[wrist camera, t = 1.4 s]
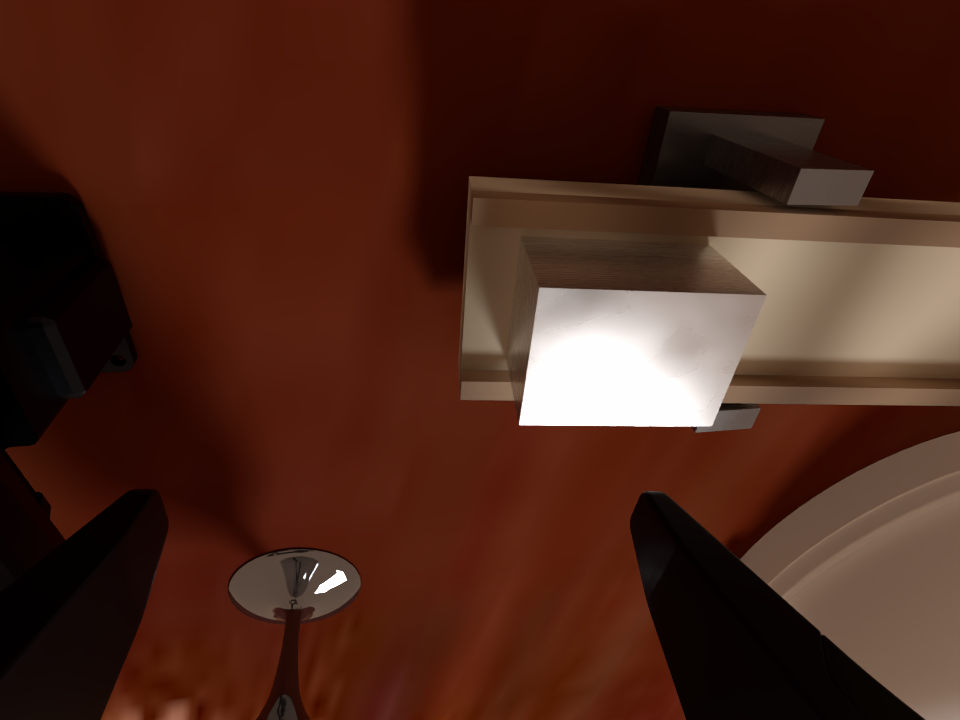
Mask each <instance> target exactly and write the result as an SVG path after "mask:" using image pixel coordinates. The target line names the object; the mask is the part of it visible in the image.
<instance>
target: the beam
mask: <svg viewBox="0 0 960 720" xmlns="http://www.w3.org/2000/svg"><path fill="white" fill-rule="evenodd" d="M521 236H530V237H553V238H576V239H600V240H623V241H646V242H669V243H692V244H709V245H710V246H712V247H713V248H714V249H715V250H716V251H717V252H718V253H720V254H721V255H722V256H723V257H724V258H725V259H726V260H728V261H729V262H730V263H731V264H732V265H733V266H734V267H735V268H737V269H738V270H739V271H740V272H741V273H742V274H743V275H745V276H746V277H747V278H748V279H749V280H750V281H751V282H753V283H754V284H755V285H756V286H757V287H758V288H759V289H761V290H762V291H763V292H764V293H765V294H766V295H767V297H766V299H765V301H764V304H763V306H762V309H761V311H760V313H759V316H758V318H757V320H756V323H755V325H754V327H753V330H752V332H751V335H750V337H749V339H748V342H747V344H746V346H745V349H744V351H743V354H742V356H741V358H740V361H739V363H738V365H737V368H736V370H735V373H734V375H733V377H732V380H731V382H730V384H729V387H728V389H727V392H726V394H725V396H724V399H723V401H722V403H758V404H838V405H918V406H960V202H941V201H923V200H904V199H886V198H867V197H862V198H861V200H860V202H859V204H858V206H845V205H786V204H784V203H782V202H780V201H778V200H776V199H774V198H772V197H770V196H768V195H766V194H764V193H762V192H760V191H758V190H756V189H754V188H752V187H751V188H750V190H749V191H737V190H718V189H700V188H681V187H663V186H644V185H625V184H607V183H588V182H570V181H551V180H533V179H514V178H495V177H477V176H469V186H468V204H467V221H466V239H465V256H464V274H463V291H462V309H461V326H460V344H459V361H458V367H459V384H460V400H514V397H513V392H512V387H511V382H510V377H509V372H508V366H507V361H506V355H507V346H508V338H509V329H510V321H511V313H512V304H513V296H514V287H515V279H516V270H517V262H518V253H519V245H520V237H521Z"/></svg>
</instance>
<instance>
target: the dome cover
mask: <svg viewBox="0 0 960 720" xmlns="http://www.w3.org/2000/svg"><path fill="white" fill-rule="evenodd" d="M740 560H741V561H742V562H743V563H744V564H745V565H746V566H748V567H749V568H750V569H751V570H752V571H753V572H754V573H755V574H756V575H758V576H759V577H760V578H761V579H762V580H763V581H764V582H765V583H767V584H768V585H769V586H770V587H771V588H772V589H773V590H774V591H776V592H777V593H778V594H779V595H780V596H781V597H782V598H783V599H785V600H786V601H787V602H788V603H789V604H790V605H791V606H792V607H794V608H795V609H796V610H797V611H798V612H799V613H800V614H801V615H803V616H804V617H805V618H806V619H807V620H808V621H809V622H810V623H811V624H813V625H814V626H815V627H816V628H817V629H818V630H819V631H820V632H821V635H825V636H826V637H827V638H829V639H830V640H831V641H832V642H833V643H834V644H835V645H836V646H837V647H839V648H840V649H841V650H842V651H843V652H844V653H845V654H847V655H848V656H849V657H850V658H851V659H852V660H854V661H855V662H856V663H857V664H858V665H859V666H860V667H862V668H863V669H864V670H865V671H866V672H867V673H869V674H870V675H871V676H872V677H873V678H874V679H876V680H877V681H878V682H879V683H881V684H882V685H883V686H884V687H886V688H887V689H888V690H889V691H890V692H892V693H893V694H894V695H895V696H897V697H898V698H899V699H900V700H902V701H903V702H904V703H905V704H906V705H908V706H909V707H910V708H911V709H913V710H914V711H915V712H917V713H918V714H919V715H920V716H922V717H923V718H924V719H925V720H960V431H959V432H956V433H952V434H948V435H944V436H941V437H938V438H935V439H932V440H929V441H926V442H923V443H920V444H918V445H915V446H913V447H910V448H908V449H905V450H902V451H900V452H898V453H895V454H893V455H891V456H889V457H886V458H884V459H882V460H880V461H878V462H876V463H874V464H872V465H870V466H868V467H866V468H864V469H862V470H860V471H858V472H856V473H854V474H852V475H850V476H849V477H847V478H845V479H843V480H841V481H840V482H838V483H836V484H834V485H833V486H831V487H830V488H828V489H826V490H825V491H823V492H821V493H820V494H818V495H817V496H815V497H814V498H812V499H811V500H809V501H808V502H806V503H805V504H803V505H802V506H801V507H799V508H798V509H796V510H795V511H794V512H792V513H791V514H790V515H788V516H787V517H786V518H784V519H783V520H782V521H781V522H779V523H778V524H777V525H776V526H775V527H773V528H772V529H771V530H770V531H769V532H767V533H766V534H765V535H764V536H763V537H762V538H761V539H760V540H759V541H758V542H757V543H755V544H754V545H753V546H752V547H751V548H750V549H749V550H748V552H747V553H746V554H745V555H744V556H743V557H742V558H741V559H740Z"/></svg>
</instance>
